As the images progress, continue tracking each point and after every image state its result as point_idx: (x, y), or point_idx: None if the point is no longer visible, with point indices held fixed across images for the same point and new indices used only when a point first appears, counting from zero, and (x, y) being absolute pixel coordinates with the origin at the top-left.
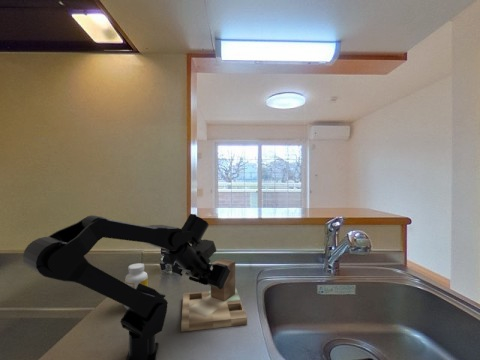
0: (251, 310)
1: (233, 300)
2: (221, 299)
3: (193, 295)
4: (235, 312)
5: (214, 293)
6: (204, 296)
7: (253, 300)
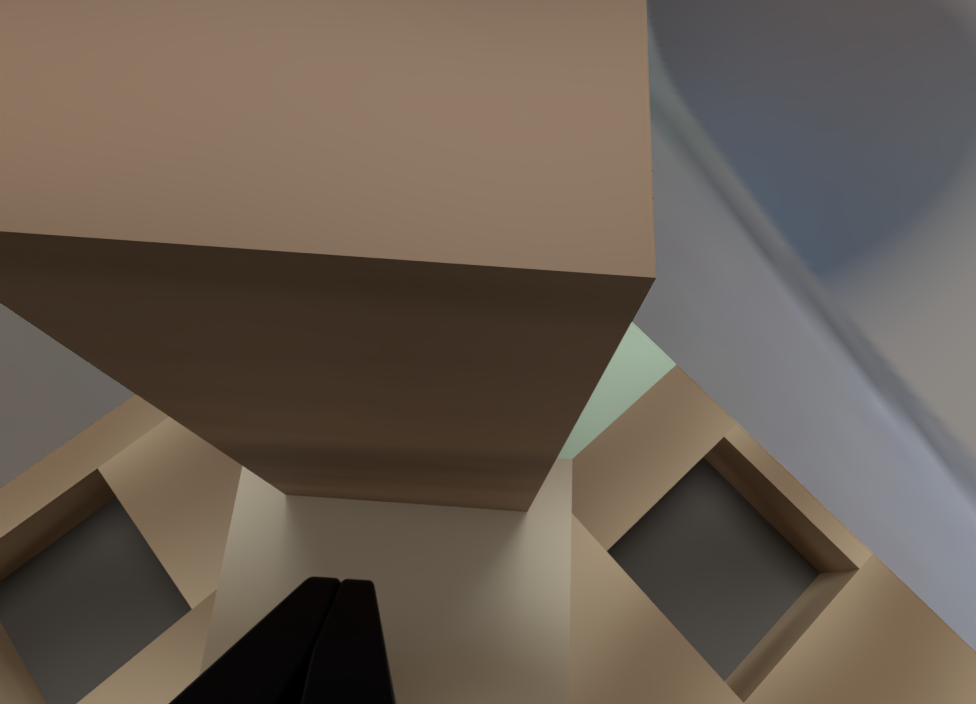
0: (809, 408)
1: (612, 420)
2: (480, 506)
3: (4, 552)
4: (832, 682)
5: (341, 487)
6: (191, 532)
7: (700, 227)
